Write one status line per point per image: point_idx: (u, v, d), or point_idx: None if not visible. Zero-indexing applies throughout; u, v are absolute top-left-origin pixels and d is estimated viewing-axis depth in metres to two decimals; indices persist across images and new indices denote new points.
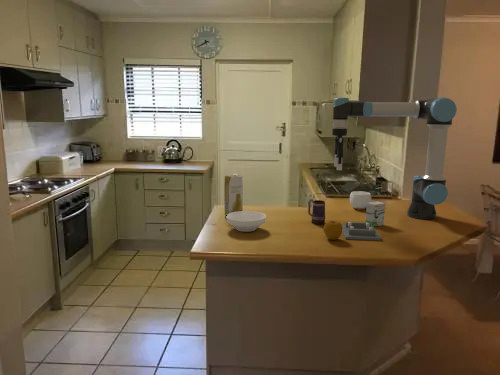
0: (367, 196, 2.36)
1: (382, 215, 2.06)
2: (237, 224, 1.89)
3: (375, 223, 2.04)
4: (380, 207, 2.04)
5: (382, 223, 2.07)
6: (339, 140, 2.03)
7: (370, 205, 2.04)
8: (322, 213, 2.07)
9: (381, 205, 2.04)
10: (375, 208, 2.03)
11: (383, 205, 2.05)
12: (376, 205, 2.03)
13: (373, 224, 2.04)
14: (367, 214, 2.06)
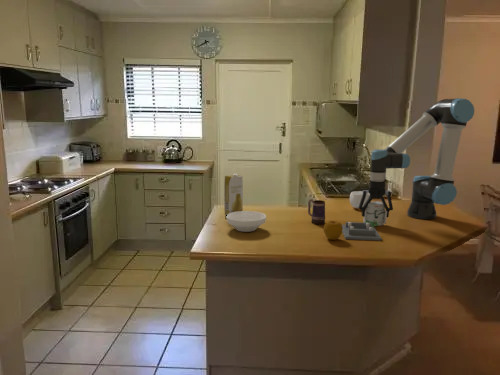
0: (367, 196, 2.36)
1: (382, 215, 2.06)
2: (237, 224, 1.89)
3: (375, 223, 2.04)
4: (380, 207, 2.04)
5: (382, 223, 2.07)
6: None
7: (370, 205, 2.04)
8: (322, 213, 2.07)
9: (381, 205, 2.04)
10: (375, 208, 2.03)
11: (383, 205, 2.05)
12: (376, 205, 2.03)
13: (373, 224, 2.04)
14: (367, 214, 2.06)
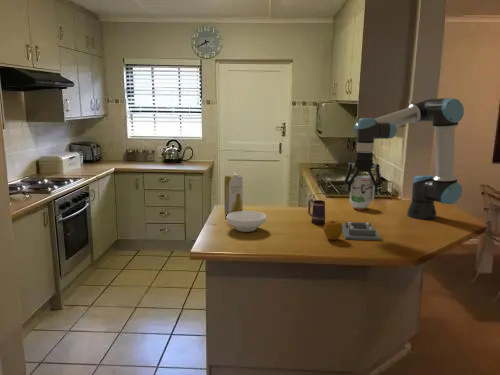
0: None
1: (370, 190, 1.89)
2: (237, 224, 1.89)
3: (361, 199, 1.87)
4: (367, 181, 1.87)
5: (370, 199, 1.90)
6: None
7: (356, 179, 1.86)
8: (322, 213, 2.07)
9: (368, 179, 1.87)
10: (362, 182, 1.86)
11: (371, 179, 1.88)
12: (363, 179, 1.86)
13: (360, 200, 1.87)
14: (353, 189, 1.89)
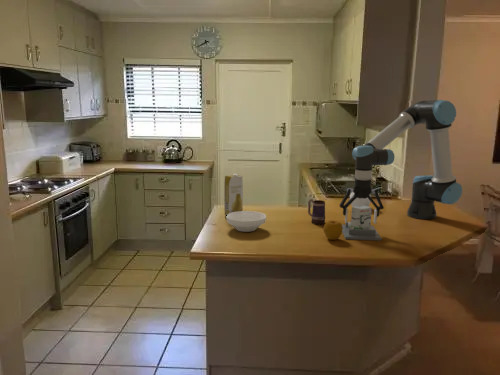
0: None
1: (368, 220, 1.91)
2: (237, 224, 1.89)
3: None
4: (366, 212, 1.90)
5: (368, 229, 1.92)
6: (347, 190, 1.91)
7: (355, 210, 1.89)
8: (322, 213, 2.07)
9: (367, 210, 1.90)
10: (361, 213, 1.88)
11: (369, 210, 1.90)
12: (362, 210, 1.88)
13: None
14: (352, 220, 1.91)
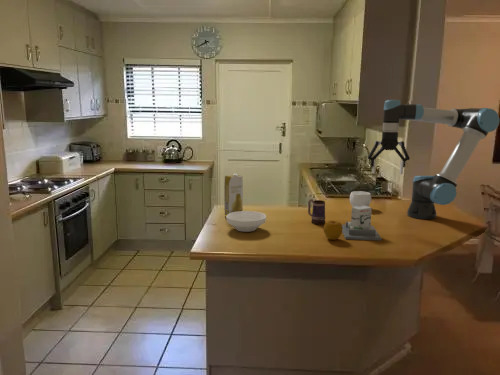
0: (367, 196, 2.36)
1: (368, 220, 1.91)
2: (237, 224, 1.89)
3: None
4: (366, 212, 1.90)
5: (368, 229, 1.92)
6: (375, 142, 2.03)
7: (355, 210, 1.89)
8: (322, 213, 2.07)
9: (367, 210, 1.90)
10: (361, 213, 1.88)
11: (369, 210, 1.90)
12: (362, 210, 1.88)
13: None
14: (352, 220, 1.91)
